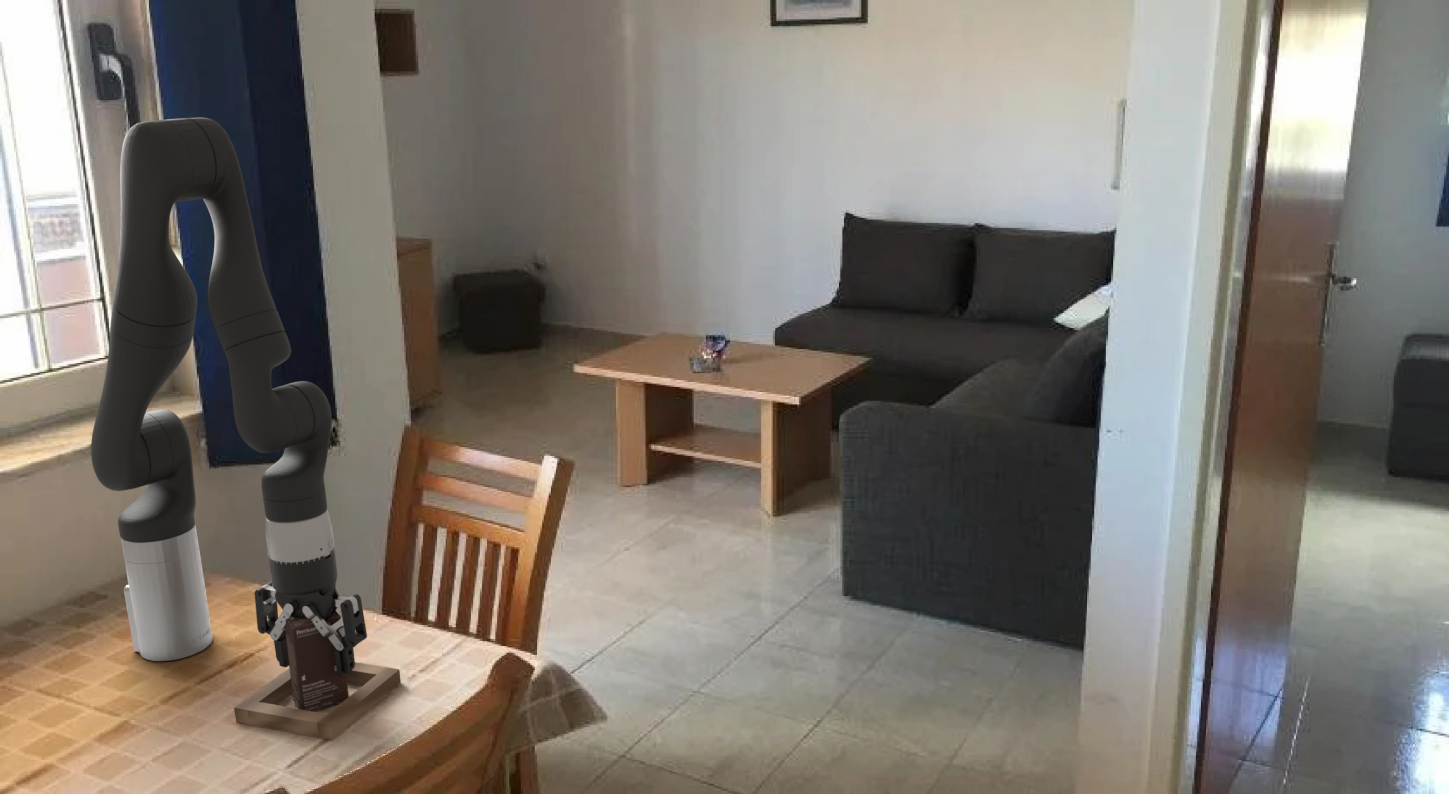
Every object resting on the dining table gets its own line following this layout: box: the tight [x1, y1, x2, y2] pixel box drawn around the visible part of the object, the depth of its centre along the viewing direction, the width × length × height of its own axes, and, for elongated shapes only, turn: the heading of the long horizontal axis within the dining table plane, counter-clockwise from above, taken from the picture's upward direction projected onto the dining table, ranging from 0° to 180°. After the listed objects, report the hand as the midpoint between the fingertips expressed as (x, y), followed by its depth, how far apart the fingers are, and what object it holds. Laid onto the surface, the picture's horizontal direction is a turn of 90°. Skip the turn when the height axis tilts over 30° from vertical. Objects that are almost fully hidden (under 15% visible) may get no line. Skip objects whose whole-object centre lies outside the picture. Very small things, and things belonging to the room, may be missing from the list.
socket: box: [233, 661, 402, 741], centre depth 147 cm, size 14×14×2 cm
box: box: [285, 614, 349, 712], centre depth 146 cm, size 6×4×12 cm
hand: (316, 669), depth 146 cm, fingers open, 8 cm apart
